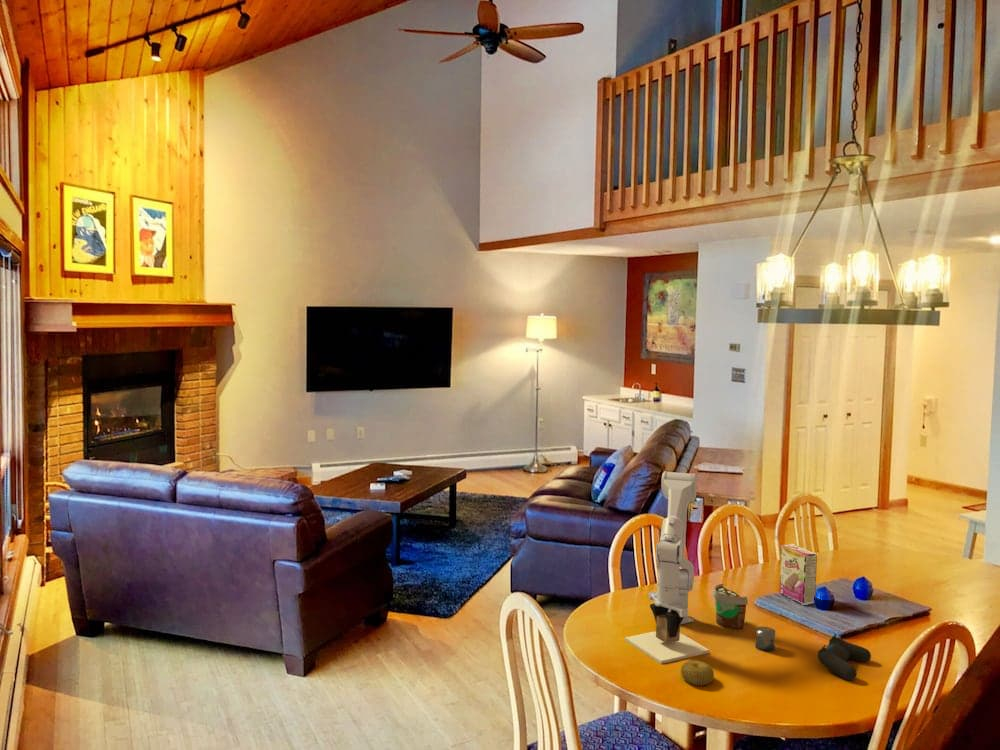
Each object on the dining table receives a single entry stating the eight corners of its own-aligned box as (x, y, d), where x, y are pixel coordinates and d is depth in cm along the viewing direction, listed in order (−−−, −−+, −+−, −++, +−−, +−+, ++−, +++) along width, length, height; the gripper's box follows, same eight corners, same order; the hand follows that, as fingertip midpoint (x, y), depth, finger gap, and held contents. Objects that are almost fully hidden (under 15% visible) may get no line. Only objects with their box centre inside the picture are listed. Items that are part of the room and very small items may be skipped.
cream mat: (625, 640, 219) (625, 637, 219) (671, 630, 226) (671, 627, 226) (660, 664, 205) (660, 661, 205) (709, 652, 212) (709, 649, 212)
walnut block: (655, 636, 217) (656, 615, 216) (669, 634, 219) (670, 613, 218) (666, 643, 213) (667, 621, 212) (679, 640, 215) (680, 619, 214)
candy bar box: (778, 594, 256) (780, 544, 255) (790, 592, 258) (792, 543, 256) (803, 606, 246) (805, 555, 244) (815, 604, 247) (818, 553, 246)
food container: (703, 618, 236) (704, 585, 235) (720, 615, 238) (721, 583, 237) (728, 634, 224) (730, 599, 223) (746, 631, 226) (748, 597, 226)
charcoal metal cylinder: (751, 646, 217) (752, 628, 216) (765, 642, 219) (765, 625, 218) (764, 653, 212) (765, 635, 212) (778, 650, 214) (779, 632, 214)
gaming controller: (862, 667, 210) (830, 640, 215) (875, 653, 207) (842, 625, 212) (843, 691, 197) (809, 661, 202) (857, 675, 195) (822, 645, 200)
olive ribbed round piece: (720, 665, 196) (702, 675, 191) (719, 681, 196) (701, 691, 191) (693, 654, 202) (674, 664, 196) (692, 670, 202) (673, 679, 197)
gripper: (640, 578, 219) (638, 625, 220) (673, 595, 206) (671, 646, 207) (660, 574, 222) (659, 621, 223) (694, 591, 209) (693, 641, 210)
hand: (666, 633), depth 215 cm, fingers closed on walnut block, 4 cm apart
